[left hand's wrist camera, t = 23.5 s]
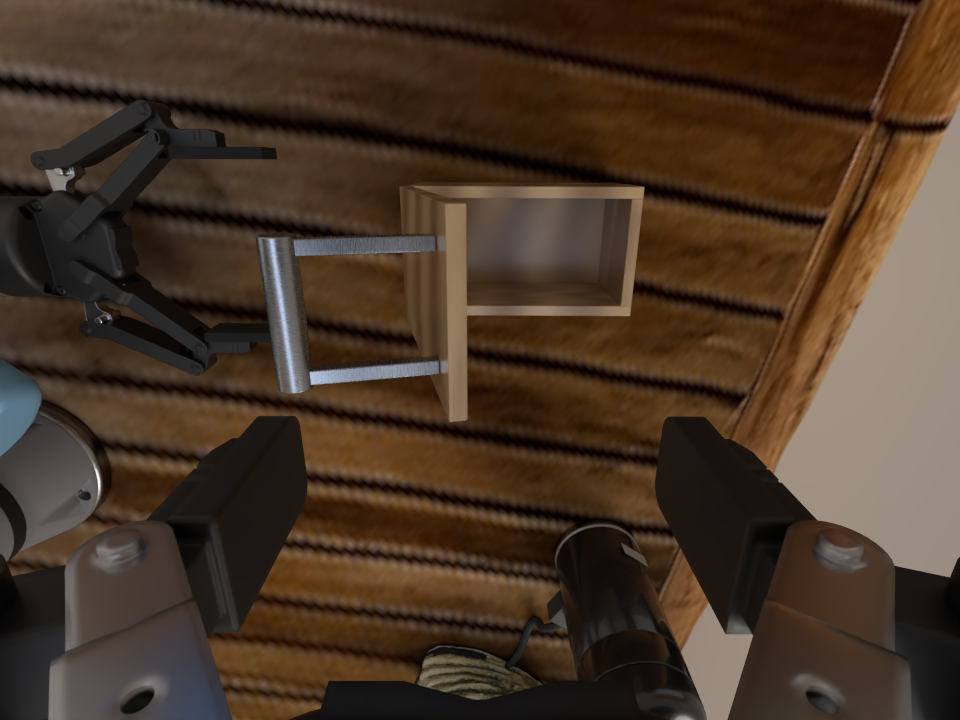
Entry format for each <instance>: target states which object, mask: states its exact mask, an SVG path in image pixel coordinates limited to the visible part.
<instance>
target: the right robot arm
mask: <svg viewBox="0 0 960 720" xmlns="http://www.w3.org/2000/svg"><path fill="white" fill-rule="evenodd" d="M170 117H171V112H170V109H169V108H168V107H167V106H166V105H164V104H160V103H155V102H150V101H145V100H137V101H135V102H134V103H132V104H130V105H129V106H127V107H126V108H124V109H122V110H121V111H119V112H118V113H116V114H114V115H113V116H111V117H110V118H108V119H106V120H105V121H103V122H102V123H100V124H98V125H97V126H95V127H93V128H92V129H90V130H89V131H87V132H85V133H84V134H82V135H81V136H79V137H77V138H76V139H74V140H73V141H71V142H69V143H68V144H66V145H65V146H63V147H61V148H60V149H55V150H47V151H38V152H34V153H33V154H32V155H31V162H32V164H33V165H34V166H35V167H36V168H37V169H39V170H45V171H46V174H47V176H48V179H49V181H50V184H51V187H52V189H53V192H52V193H50V194H49V195H47V196H0V297H4V296H29V297H72V298H75V299H78V300H80V301H82V302H84V309H85V315H86V321H85V322H82V323H81V324H80V325H79V331H80V333H81V334H82V335H84V336H87V337H95V338H104V339H110V340H112V341H115V342H117V343H119V344H122V345H124V346H127V347H129V348H131V349H134V350H136V351H138V352H141V353H143V354H145V355H148V356H150V357H153V358H155V359H157V360H160V361H162V362H164V363H167V364H169V365H171V366H174V367H176V368H178V369H181V370H183V371H186V372H188V373H190V374H193V375H196V376H197V375H201V374H202V373H203V372H205V371H206V370H208V369H209V368H210V367H212V366H213V365H214V364H215V363H216V362H217V357H216V353H246V352H249V351H251V350H252V349H253V348H254V347H256V346H257V342H271V336H270V329H269V323H220V324H218V325H216V326H215V327H213V328H212V329H211V328H209V327H208V326H206V325H205V324H204V323H202V322H201V321H199V320H198V319H196V318H195V317H194V316H192V315H191V314H189V313H188V312H187V311H185V310H184V309H182V308H181V307H179V306H178V305H177V304H175V303H174V302H172V301H171V300H170V299H168V298H167V297H165V296H164V295H162V294H161V293H160V292H158V291H157V290H155V289H154V288H153V287H152V286H151V283H150V282H149V281H148V280H147V279H145V278H144V277H142V276H141V275H140V274H138V273H137V272H135V270H136V266H139V263H138V258H137V255H136V253H135V251H134V249H133V247H132V233H131V228H130V226H126V224H125V222H124V221H123V220H122V219H121V218H122V217H123V216H124V215H125V214H126V212H127V211H128V210H129V209H130V208H131V207H132V206H133V201H134V200H135V199H136V197H137V196H138V195H139V194H140V193H141V192H142V191H143V190H144V189H145V188H146V186H147V185H148V184H149V183H150V182H151V181H152V180H153V179H154V178H155V177H156V176H157V174H158V173H159V172H160V171H161V170H162V169H163V168H164V167H165V166H166V165H167V163H168V162H169V161H170V160H171V159H172V158H180V159H277V156H276V149H275V148H265V147H226V143H225V137H224V133H221V132H219V131H216V130H208V129H178V128H177V127H176V126H175V125H174V124H173V122H172V120H171V118H170ZM147 133H148V134H147ZM146 134H147V135H146ZM144 135H146V136H145V137H144V139H143V140H142V141H141V142H140V143H139V144H138V145H137V147H136V148H135V149H134V150H133V151H132V152H131V153H130V155H129V156H128V157H127V158H126V159H125V160H124V161H123V162H122V164H121V165H120V166H119V167H118V168H117V169H116V170H115V172H114V173H113V174H112V175H111V176H110V177H109V178H108V179H107V181H106V182H105V183H104V184H103V185H102V186H101V187H100V189H99V190H98V191H96V192H94V193H92V194H90V195H89V196H86V195H85V194H83V193H82V192H80V191H77V190H75V182H76V181H77V180H79V179H81V178H82V177H83V175H85V173H86V170H85V169H84V168H85V167H90V166H93V165H96V164H98V163H99V162H101V161H103V160H104V159H106V158H108V157H109V156H111V155H113V154H114V153H116V152H118V151H119V150H121V149H123V148H124V147H126V146H128V145H129V144H131V143H132V142H134V141H136V140H137V139H139V138H141V137H142V136H144ZM123 284H126V286H123ZM107 297H108V298H109V299H111V300H112V301H114V302H115V303H117V304H121V305H126V306H128V307H129V308H130V309H132V310H133V311H135V312H136V313H138V314H139V315H141V316H142V317H144V318H145V319H146V320H148V321H149V322H151V323H152V324H154V325H155V326H157V327H158V328H160V329H161V330H162V331H161V330H159V329H157V328H154V327H152V326H150V325H147V324H145V323H143V322H140V321H138V320H136V319H133V318H130V317H126V316H121V312H120V311H119V310H114V309H111V308H109V307H108V306H107V305H106V304H105V303H104V299H106V298H107ZM163 331H164V332H163ZM110 485H111V471H110V466H109V462H108V459H107V457H106V454H105V452H104V450H103V448H102V446H101V445H100V443H99V442H98V440H97V439H96V438H95V436H94V435H93V434H92V433H91V432H90V431H89V430H88V429H87V428H86V427H85V426H84V425H83V424H82V423H81V422H80V421H78V420H77V419H76V418H74V417H73V416H72V415H70V414H69V413H67V412H65V411H64V410H62V409H60V408H58V407H56V406H54V405H51V404H49V403H46V402H43V401H42V393H41V389H40V387H39V385H38V384H37V382H36V381H35V380H33V379H32V378H31V377H29V376H27V375H26V374H24V373H23V372H21V371H20V370H18V369H17V368H15V367H13V366H12V365H10V364H9V363H7V362H6V361H4V360H3V359H1V358H0V554H2V555H3V556H4V558H5V560H6V562H8V561H9V560H10V559H11V558H12V557H14V556H15V555H16V554H17V553H18V552H20V551H22V550H24V549H26V548H28V547H31V546H33V545H35V544H37V543H40V542H42V541H44V540H46V539H49V538H51V537H53V536H55V535H58V534H60V533H62V532H64V531H67V530H69V529H72V528H74V527H76V526H78V525H79V524H81V523H82V522H83V521H85V520H86V519H87V518H88V517H89V516H90V515H91V514H93V513H94V512H95V511H96V510H97V509H98V508H99V507H100V506H101V505H102V504H103V502H104V501H105V499H106V497H107V495H108V493H109V490H110Z"/></svg>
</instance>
